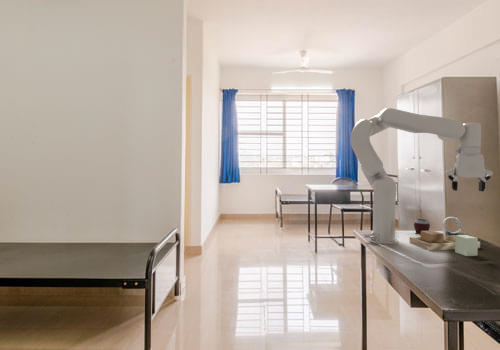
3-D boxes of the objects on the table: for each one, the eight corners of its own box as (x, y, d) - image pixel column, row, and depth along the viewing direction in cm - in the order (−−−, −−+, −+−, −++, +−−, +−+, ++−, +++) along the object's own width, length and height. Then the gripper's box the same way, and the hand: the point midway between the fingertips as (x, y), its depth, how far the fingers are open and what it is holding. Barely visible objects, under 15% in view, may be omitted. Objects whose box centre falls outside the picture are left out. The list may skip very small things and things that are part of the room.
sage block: (466, 258, 109) (466, 238, 109) (455, 254, 114) (455, 235, 114) (477, 258, 110) (477, 237, 109) (465, 254, 114) (466, 234, 114)
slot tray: (428, 252, 116) (429, 244, 116) (409, 244, 128) (409, 237, 128) (480, 250, 120) (480, 242, 120) (456, 242, 131) (456, 235, 131)
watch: (463, 241, 134) (464, 218, 133) (443, 239, 137) (444, 217, 137) (460, 238, 139) (461, 216, 138) (441, 236, 142) (442, 215, 142)
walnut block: (430, 247, 119) (431, 234, 119) (420, 244, 125) (420, 230, 125) (443, 247, 120) (443, 233, 120) (432, 243, 126) (432, 230, 126)
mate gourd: (424, 237, 141) (425, 208, 141) (409, 234, 148) (409, 206, 148) (432, 235, 145) (433, 207, 144) (417, 232, 152) (418, 205, 151)
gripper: (449, 151, 120) (448, 190, 121) (498, 151, 115) (496, 192, 115) (443, 152, 127) (441, 189, 128) (488, 151, 122) (487, 190, 122)
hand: (467, 190), depth 122 cm, fingers open, 9 cm apart
